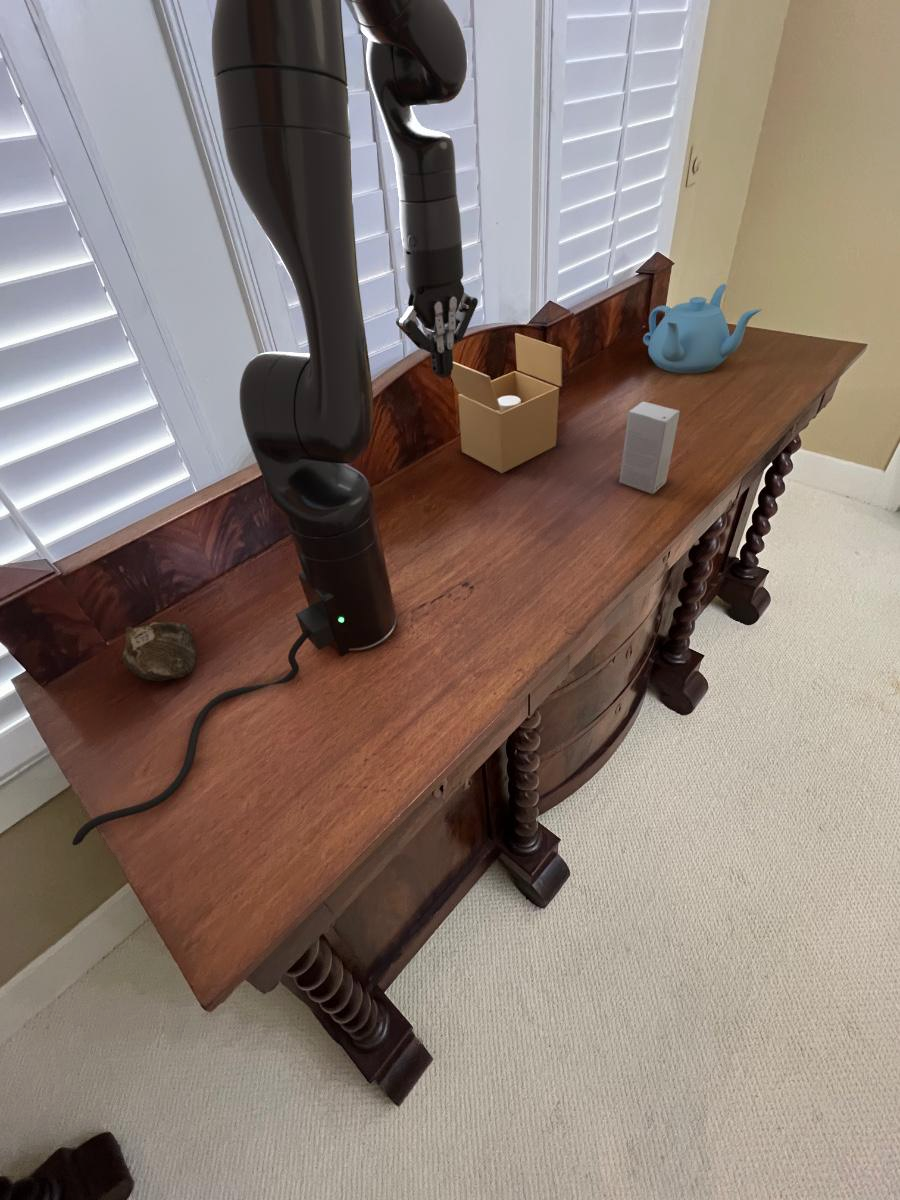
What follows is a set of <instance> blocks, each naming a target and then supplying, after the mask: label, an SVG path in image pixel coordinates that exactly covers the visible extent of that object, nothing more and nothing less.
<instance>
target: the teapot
mask: <svg viewBox="0 0 900 1200" xmlns="http://www.w3.org/2000/svg"><path fill="white" fill-rule="evenodd" d="M726 289H727V284H726V283H724V284H720V285H719V286H718V287H717V288H716V289H715V291H714V292H713V295H712V297H711V299H710V300H709V303H707V300H708V299H707V298H705V297H703V296H694V297H690V298H689V302H683V303H678V304H676V305H674V306H673V307H672V308H671V307H670V306H668V305H658V306H657V307H654V309H652V310H651V312H650V314H649V317H648V325H649V326H648V327H649V328H648V329H649V331H648V332H646V333H645V334H644V335H643V338H642V342H643V344H644V345H645V346H647V347H648V348H647V352H648V355H649V358H650V359H651V360H652V362H653V363H654V365H655V366H657V367H658V368H660V369H662V370H665V371H667V372H671V373H676V374H688V375H691V374H701V373H707V372H709V371H712V370H714V369H715V368H717V367H718V366H719V365H721V364H722V363H723V362H724V361H725V360H726V359H727V357H728V356H730V355H732V354H733V353H734V352H735V351H736V350H737V349H738V348H739V346H740V345H741V343H742V341H743V338H744V335H745V331H746V329H747V325H748V323H749V321H750V320H751V319H752V318H753V317H754V316H755V315H757V314H759V312H762V310H763V309H762V308H759V309H758V308H757V309H752V310H748V311H745V312H744V313H742V315H741V316H740V317H739V318H738V321H737V323H736V326H735V329H734V331H733V333H732V334H731V335H730V330H729V326H728V323H727V319H726V317H725V315H724V313H723V311H722V309H721V303H722V298H723V294H724V293H725V291H726ZM659 312H662V313H665V316H663V318H662V319H661V320H660V321H659V323H658V325H657V321H656V320H657V314H658V313H659Z"/></svg>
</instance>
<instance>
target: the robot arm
mask: <svg viewBox="0 0 900 1200" xmlns="http://www.w3.org/2000/svg"><path fill="white" fill-rule="evenodd" d="M343 1H344V3H345V5H346V6H347V8H348V10H349V12H350V14H351V15H352V17H353V19H354V21H355V23H356V25H357V26H358V28H359V29H360V31H361V32H362V34H363V35H364V36H365V37H366V38H368V40H367V47H366V69H367V73H368V74H367V75H368V79H369V83H370V86H371V90H372V92H373V95H374V98H375V101H376V103H377V107H378V110H379V112H380V115H381V118H382V121H383V124H384V128H385V131H386V134H387V137H388V141H389V144H390V148H391V151H392V155H393V159H394V165H395V166H394V167H395V175H396V184H397V192H398V199H399V200H398V201H399V227H400V228H399V230H400V237H401V245H402V254H403V255H402V256H403V264H404V272H405V280H406V283H407V285H408V289H409V294H408V298H407V305H408V307H407V309H406V311H405V313H404V314H403V315H402V316H401V315H400V316H397V318H395V324H396V326H397V327H398V328H399V329H400V330H401V331H402V332H403V333H404V334H405V336H407V338H408V339H409V340H410V341H411V342H412V343H413V344H414V345H415V346H416V348H418V349H420V350H423V351H426V352H428V353H430V363H431V370H432V373H433V374H434V375H435V376H436V377H438V378H441V379H445V378H447V377H451V374H452V372H451V371H452V370H453V362H454V360H453V359H454V358H453V357H454V356H453V348H454V346H455V344H456V343H457V342H461V341H462V340H463V339H464V337H465V334H466V332H467V329H468V327H469V325H470V323H471V321H472V318H473V315H474V313H475V311H476V309H477V306H478V303H479V301H478V298H477V297H474V296H470V295H469V294H467V293H466V292H465V287H464V284H463V283H462V279H463V277H464V261H463V260H464V259H463V241H462V239H463V238H462V223H461V222H462V221H461V212H460V206H459V201H458V190H457V174H456V173H457V171H456V169H457V168H456V153H455V145H454V141H453V139H452V138H451V137H450V135H448V134H447V133H444V132H440V131H436V130H431V129H427V128H426V127H423V126H422V125H421V124H420V122H419V121H418V120H417V118H416V116H415V114H414V111H413V108H412V107H415V106H417V107H418V106H429V105H433V106H434V105H442V104H447V103H450V102H452V101H453V100H455V99H456V97H458V95H459V94H460V93H461V91H462V89H463V87H464V85H465V82H466V79H467V74H468V63H469V62H468V59H469V58H468V50H467V45H466V41H465V37H464V34H463V32H462V28H461V26H460V23H459V22H458V20H457V18H456V16H455V13H454V12H453V11H452V10H451V8H450V6H449V5H448V4H447V2H446V1H445V0H343ZM342 13H343V12H342V0H216V3H215V9H214V16H213V22H212V28H211V59H212V69H213V77H214V82H215V89H216V97H217V103H218V104H217V105H218V109H219V110H218V111H219V117H220V121H221V122H220V123H221V130H222V139H223V145H224V150H225V154H226V158H227V159H226V160H227V162H228V166H229V168H230V172H231V174H232V177H233V179H234V181H235V183H236V185H237V187H238V190H239V192H240V193H241V195H242V197H243V199H244V201H245V203H246V205H247V206H248V208H249V210H250V211H251V214H252V215H253V216H254V219H255V220H256V222H257V224H258V225H259V226H260V228H261V230H262V231H263V233H264V234H265V236H266V238H267V239H268V241H269V242H270V244H271V246H272V248H273V249H274V251H275V252H276V254H277V255H278V258H279V259H280V261H281V263H282V265H283V267H284V269H285V270H286V272H287V274H288V276H289V278H290V280H291V283H292V285H293V287H294V290H295V292H296V295H297V297H298V302H299V306H300V309H301V312H302V317H303V321H304V327H305V332H306V338H307V346H308V353H304V352H303V353H301V352H288V351H267V352H262V353H260V354H257V355H256V356H254V357H253V358H251V360H250V361H249V362H248V363H247V365H246V366H245V368H244V370H243V371H242V375H241V379H240V383H239V384H240V385H239V393H238V396H239V397H238V398H239V409H240V410H239V411H240V415H241V420H242V425H243V428H244V431H245V435H246V437H247V440H248V444H249V445H250V448H251V451H252V454H253V456H254V458H255V461H256V464H257V466H258V468H259V471H260V473H261V475H262V478H263V480H264V483H265V486H266V488H267V490H268V493H269V496H270V498H271V499H272V501H273V503H274V504H275V506H277V508H278V509H279V510H280V511H281V512H282V513H283V515H284V516H285V520H286V523H287V525H288V529H289V532H290V535H291V538H292V541H293V544H294V547H295V551H296V554H297V557H298V560H299V563H300V566H301V569H302V571H300V572H298V578H299V582H300V584H301V588H302V591H303V593H304V597H305V599H306V602H307V605H308V607H306V608H303V609H302V610H300V611H298V612H296V613H295V616H296V618H297V621H298V624H299V627H300V629H301V630H300V631H301V632H302V633H301V634H300V636H299V637H297V639H296V640H295V642H294V643H293V644H292V646H291V648H290V650H289V652H288V657H287V660H288V664H289V666H290V667H291V670H290V671H289V672H288V674H286V675H285V676H284V677H282V678H280V679H278V680H277V681H274V682H272V683H271V682H270V683H265V684H257V685H249V686H243V687H237V688H234V689H230V690H227V691H224V692H222V693H220V694H218V695H217V696H215V697H214V698H213V699H211V700H210V701H209V702H208V703H206V705H205V706H204V707H202V709H201V710H200V712H199V713H198V715H197V716H196V718H195V720H194V722H193V725H192V727H191V730H190V733H189V734H190V735H189V738H188V744H187V749H186V753H185V758H184V761H183V764H182V767H181V768H180V771H179V773H178V775H177V776H176V778H175V779H174V781H173V782H172V783H170V785H169V786H168V787H167V788H166V789H165V790H163V792H161V793H160V794H159V795H157V796H155V797H154V798H152V799H149V800H147V801H145V802H141V803H139V804H136V805H132V806H129V807H125V808H120V809H117V810H113V811H110V812H106V813H103V814H100V815H98V816H96V817H94V818H92V819H90V820H89V821H87V822H86V823H84V824H83V825H82V826H81V827H80V829H78V830H77V832H76V833H75V836H74V838H73V839H72V842H71V843H72V845H73V846H77V845H80V844H81V843H82V842H83V841H84V839H85V838H86V836H87V835H88V834H89V833H90V832H91V831H92V830H94V829H95V828H97V827H98V826H101V825H102V824H105V823H108V822H111V821H114V820H117V819H122V818H125V817H131V816H133V815H137V814H140V813H143V812H145V811H148V810H151V809H153V808H155V807H157V806H159V805H161V804H162V803H165V801H167V800H168V799H169V798H170V797H171V796H172V795H174V793H176V791H177V790H178V789H179V788H180V787H181V786H182V784H183V783H184V781H185V780H186V778H187V777H188V774H189V773H190V770H191V768H192V765H193V763H194V758H195V754H196V750H197V744H198V738H199V734H200V730H201V727H202V725H203V722H204V720H205V719H206V717H207V716H208V715H209V713H210V712H211V711H213V709H214V708H215V707H216V706H218V705H219V704H220V703H221V702H223V701H225V700H228V699H230V698H233V697H236V696H241V695H244V694H248V693H251V692H255V691H258V690H260V689H263V688H265V687H268V686H273V685H280V684H285V683H287V682H290V681H292V680H293V679H294V678H295V677H296V676H297V675H298V674H299V670H300V665H299V663H298V661H297V660H296V655H297V653H298V651H299V649H300V648H301V647H302V645H303V644H305V642H306V641H307V640H309V642H311V643H312V645H313V646H314V647H315V648H316V650H318V651H321V650H322V649H324V648H325V647H327V646H330V647H331V648H332V650H334V651H335V652H336V653H337V654H338V656H339V657H344V656H346V655H348V654H352V653H355V654H357V653H363V652H367V651H371V650H373V649H375V648H378V647H379V646H381V645H383V644H384V643H386V642H387V641H388V640H389V639H390V638H391V637H392V636H393V634H394V633H395V631H396V629H397V626H398V615H397V611H396V606H395V602H394V598H393V593H392V588H391V582H390V579H389V578H390V577H389V573H388V568H387V562H386V557H385V552H384V548H383V541H382V537H381V531H380V526H379V521H378V516H377V511H376V506H375V501H374V495H373V491H372V487H371V483H370V482H369V480H368V478H367V477H366V476H365V475H364V474H363V473H361V472H360V471H359V470H357V469H356V468H355V467H352V466H351V465H349V464H352V463H355V462H357V461H358V460H360V459H362V457H363V456H364V454H365V453H366V451H367V449H368V447H369V444H370V442H371V439H372V434H373V427H374V393H373V392H374V391H373V383H372V381H373V380H372V374H371V366H370V358H369V349H368V344H367V336H366V328H365V320H364V314H363V306H362V297H361V289H360V281H359V271H358V270H359V269H358V259H357V246H356V244H357V243H356V232H355V231H356V230H355V214H354V195H353V193H354V192H353V179H352V178H353V177H352V176H353V175H352V171H353V170H352V139H351V138H352V137H351V123H350V106H349V103H350V102H349V89H348V87H349V84H348V75H347V74H348V73H347V63H346V62H347V61H346V51H345V41H344V40H345V39H344V28H343V26H344V25H343V15H342ZM420 323H421V328H422V330H421V328H419V326H420Z"/></svg>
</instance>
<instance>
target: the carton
mask: <svg viewBox="0 0 900 1200" xmlns="http://www.w3.org/2000/svg"><path fill="white" fill-rule="evenodd" d="M514 340H515V341H514V343H515V359H516V370H517V371H516V370H513V371H511V372H509V373H507V374H504V375H501V376H499V377H497V378H495V379H491V382H492V385H493V388H494V391H495V393H496V396H497V399H499V398H500V397H503V396H516V397H519V398H520V400H521V404H519V405H517V406H515V407H513V408H510V409H508V410H506V411H504V412H502V413H501V412H498V411H497V409H494V408H492V407H490V406H488V405H486V404H483V403H481V402H479V401H477V400H475V399H472V398H470V397H468V396H466V395H464V394H461V393H459V394H458V395H457V397H458V398H457V399H458V400H457V401H458V412H459V413H458V414H459V415H458V416H459V427H460V429H459V430H460V444H461V452H462V453H464V454H466V455H467V456H469V457H471V458H472V459H474V460H476V461H478V462H480V463H482V464H483V465H485V466H487V467H489V468H491V469H493V470H495V471H497V472H498V473H500V474H504V473H505V472H508V471H509V470H511V469H513V468H515V467H517V466H519V465H522V464H523V463H525V462H527V461H529V460H531V459H532V458H535V457H537V456H539V455H540V454H542V453H544V452H546V451H548V450H551V449H552V448H554V447H556V446H557V434H558V433H557V432H558V431H557V430H558V417H559V416H558V413H559V397H560V396H559V395H560V394H559V393H560V387H562V386H563V348H562V347H560V346H557V345H554V344H551V343H547V342H544V341H542V340H538V339H536V338H533V337H529V336H526V335H524V334H521V333H517V332H515V333H514Z"/></svg>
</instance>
